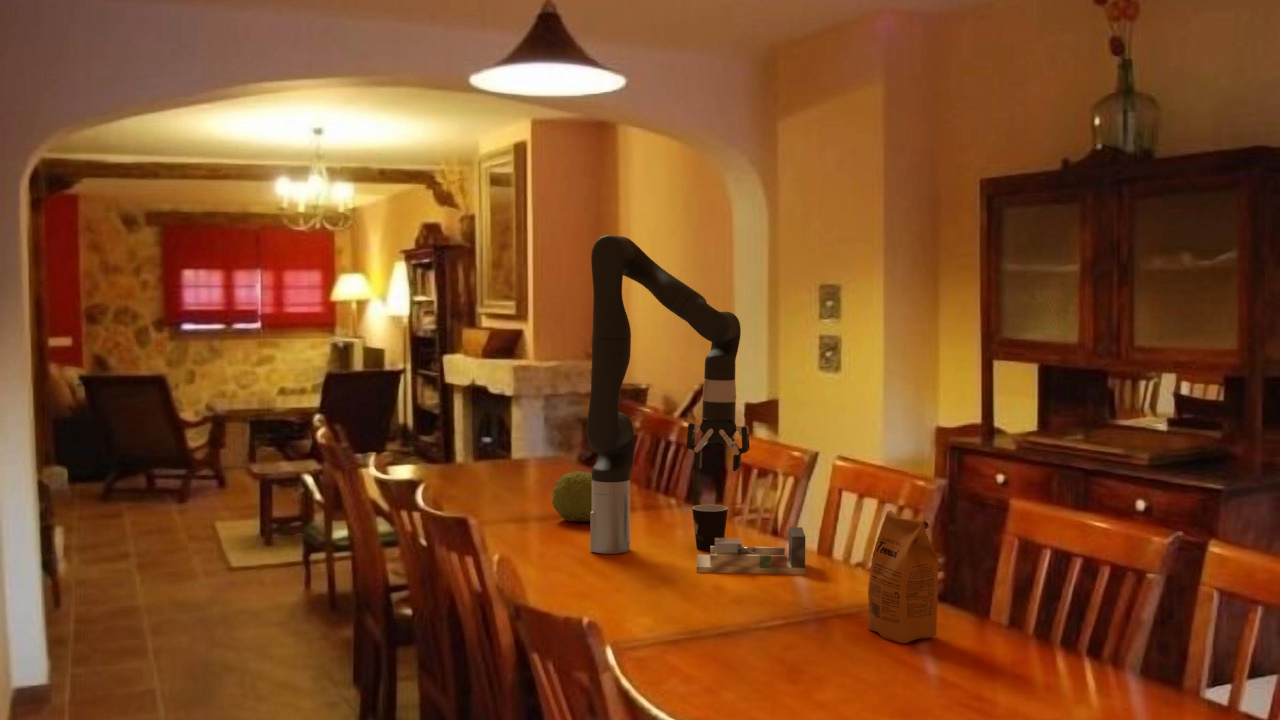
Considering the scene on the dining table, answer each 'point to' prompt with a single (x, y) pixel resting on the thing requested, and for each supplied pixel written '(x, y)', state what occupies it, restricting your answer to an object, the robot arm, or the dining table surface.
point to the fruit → (573, 496)
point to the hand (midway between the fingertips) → (717, 469)
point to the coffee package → (903, 581)
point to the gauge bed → (759, 559)
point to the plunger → (731, 546)
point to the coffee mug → (709, 525)
